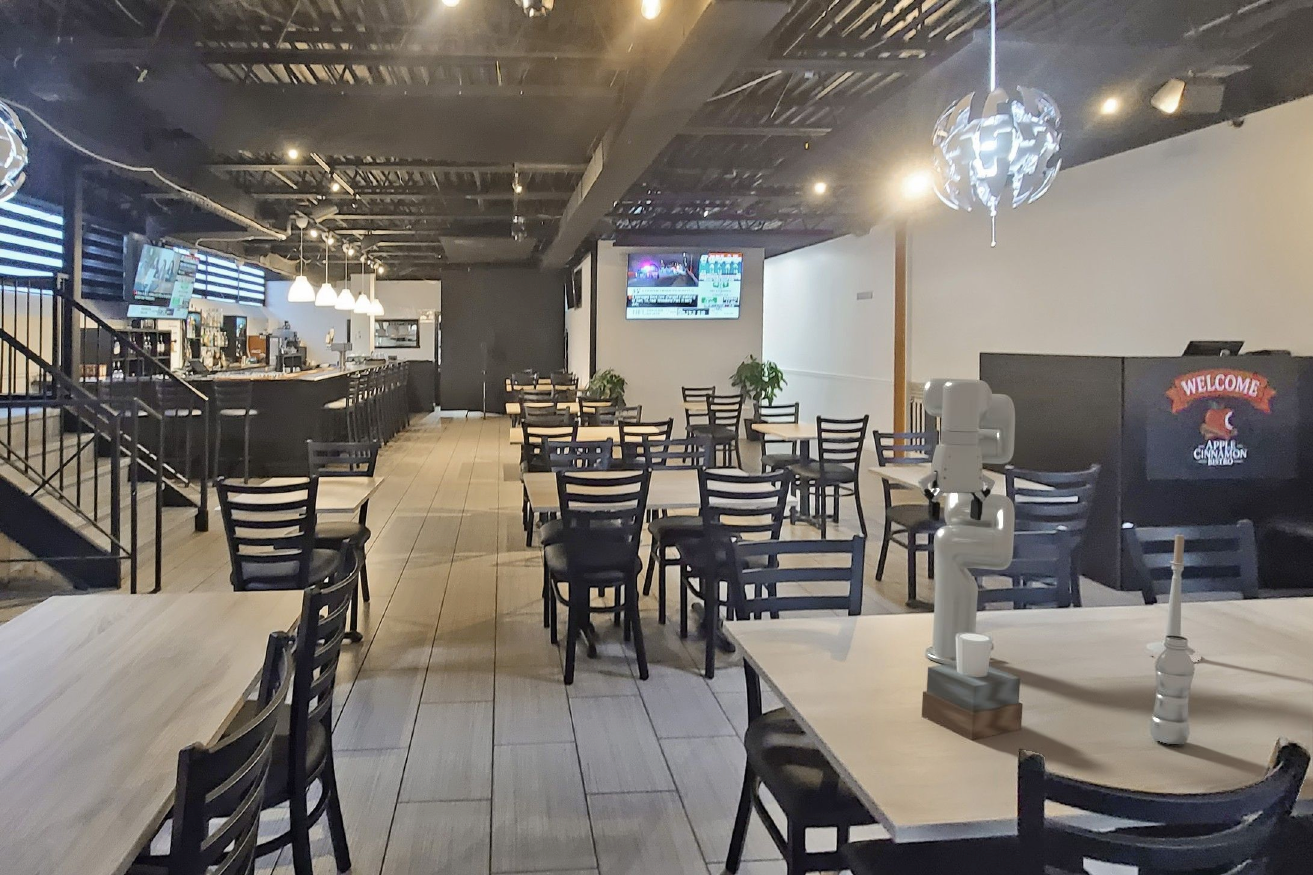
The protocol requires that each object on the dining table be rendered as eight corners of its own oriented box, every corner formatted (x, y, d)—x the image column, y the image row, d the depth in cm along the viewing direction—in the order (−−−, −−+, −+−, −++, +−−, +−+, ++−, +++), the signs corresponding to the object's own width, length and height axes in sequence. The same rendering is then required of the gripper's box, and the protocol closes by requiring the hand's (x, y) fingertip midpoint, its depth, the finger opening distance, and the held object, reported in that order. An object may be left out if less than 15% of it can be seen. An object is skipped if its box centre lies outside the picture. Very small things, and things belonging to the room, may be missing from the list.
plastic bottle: (1141, 735, 185) (1148, 632, 183) (1175, 735, 185) (1183, 632, 184) (1161, 749, 178) (1169, 642, 177) (1196, 749, 179) (1205, 642, 177)
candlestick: (1144, 658, 234) (1153, 535, 232) (1139, 644, 246) (1148, 526, 244) (1204, 665, 230) (1214, 540, 227) (1197, 651, 241) (1206, 531, 239)
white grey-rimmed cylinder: (993, 679, 184) (995, 643, 184) (955, 676, 186) (957, 640, 185) (988, 668, 191) (990, 633, 190) (952, 665, 192) (953, 630, 192)
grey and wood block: (970, 706, 198) (972, 658, 197) (1021, 729, 186) (1024, 678, 186) (921, 716, 192) (924, 666, 191) (971, 740, 180) (974, 687, 179)
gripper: (986, 438, 211) (981, 516, 212) (913, 437, 207) (909, 517, 208) (1006, 441, 204) (1001, 522, 205) (930, 440, 200) (926, 523, 201)
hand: (954, 519), depth 207 cm, fingers open, 9 cm apart
